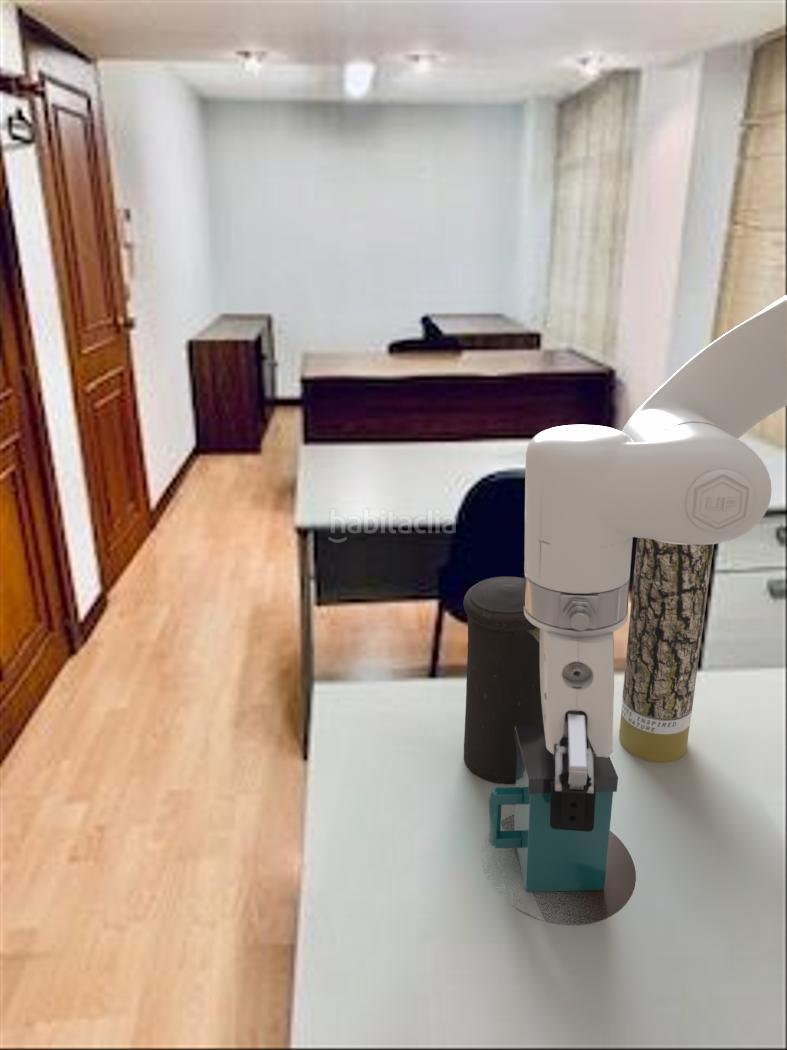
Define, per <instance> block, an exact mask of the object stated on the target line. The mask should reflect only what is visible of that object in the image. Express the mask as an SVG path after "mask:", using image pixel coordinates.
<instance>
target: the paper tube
mask: <svg viewBox="0 0 787 1050" xmlns="http://www.w3.org/2000/svg"><path fill="white" fill-rule="evenodd" d="M636 538H637V537H636ZM714 546H715V544H708V545H695V544H684V543H676V542H668V541H661V540H654V539H645V538H637V539H636V547H635V558H634V569H633V580H632V588H631V589H632V590H631V602H630V611H629V623H628V632H627V643H626V654H625V655H626V657H625V664H624V665H625V666H624V676H623V688H622V696H621V697H622V698H621V708H620V721H619V731H618V732H619V733H618V741H619V743H620V745H621V746H622V748H623V749H624V750H625V751H626V752H627V753H629V754H631V756H634V757H636V758H638V759H641V760H644V761H647V762H651V763H652V762H653V763H671V762H675V761H677V760H679V759H681V758H683V757H684V756H685V754H686V753H687V749H688V741H689V733H690V727H691V721H692V713H693V705H694V698H695V696H694V695H695V689H696V682H697V674H698V668H699V661H700V660H699V659H700V652H701V646H702V637H703V631H704V621H705V616H706V615H705V613H706V607H707V599H708V591H709V584H710V577H711V568H712V562H713V553H714V548H715V547H714Z"/></svg>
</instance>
